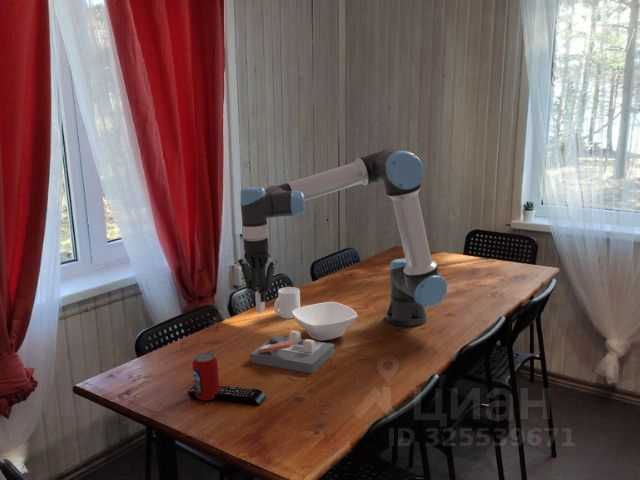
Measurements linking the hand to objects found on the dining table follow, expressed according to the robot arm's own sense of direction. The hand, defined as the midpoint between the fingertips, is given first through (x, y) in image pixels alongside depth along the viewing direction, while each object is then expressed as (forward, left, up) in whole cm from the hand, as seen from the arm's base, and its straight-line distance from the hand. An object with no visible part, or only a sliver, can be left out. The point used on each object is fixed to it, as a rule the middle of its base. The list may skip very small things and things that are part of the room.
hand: (260, 310), depth 179 cm
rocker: (-5, +1, -11) cm, 12 cm away
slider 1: (-7, -9, -13) cm, 17 cm away
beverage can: (+2, +27, -17) cm, 32 cm away
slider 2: (-14, -4, -13) cm, 20 cm away
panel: (-8, -4, -16) cm, 19 cm away
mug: (+12, -36, -17) cm, 42 cm away
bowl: (-10, -24, -17) cm, 31 cm away
